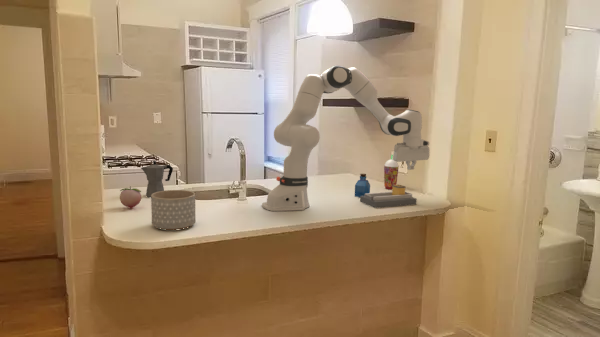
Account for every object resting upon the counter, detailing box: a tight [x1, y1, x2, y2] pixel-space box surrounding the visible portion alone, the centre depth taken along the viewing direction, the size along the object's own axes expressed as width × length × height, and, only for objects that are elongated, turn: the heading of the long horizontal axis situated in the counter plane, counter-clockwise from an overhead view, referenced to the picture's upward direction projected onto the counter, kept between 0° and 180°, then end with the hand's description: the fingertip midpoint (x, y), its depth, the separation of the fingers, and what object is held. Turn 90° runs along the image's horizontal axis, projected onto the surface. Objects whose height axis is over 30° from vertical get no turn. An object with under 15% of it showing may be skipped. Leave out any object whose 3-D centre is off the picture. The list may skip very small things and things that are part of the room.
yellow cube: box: [391, 184, 407, 195], centre depth 224 cm, size 4×5×5 cm
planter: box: [150, 189, 197, 231], centre depth 173 cm, size 16×16×13 cm
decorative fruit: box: [119, 185, 142, 209], centre depth 198 cm, size 9×8×10 cm
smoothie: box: [383, 154, 400, 190], centre depth 258 cm, size 8×8×20 cm
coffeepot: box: [140, 160, 174, 198], centre depth 224 cm, size 15×9×18 cm, turn 116°
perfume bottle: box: [354, 173, 371, 198], centre depth 236 cm, size 6×6×12 cm
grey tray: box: [359, 191, 417, 209], centre depth 222 cm, size 24×14×5 cm, turn 114°
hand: (410, 169), depth 225 cm, fingers closed
